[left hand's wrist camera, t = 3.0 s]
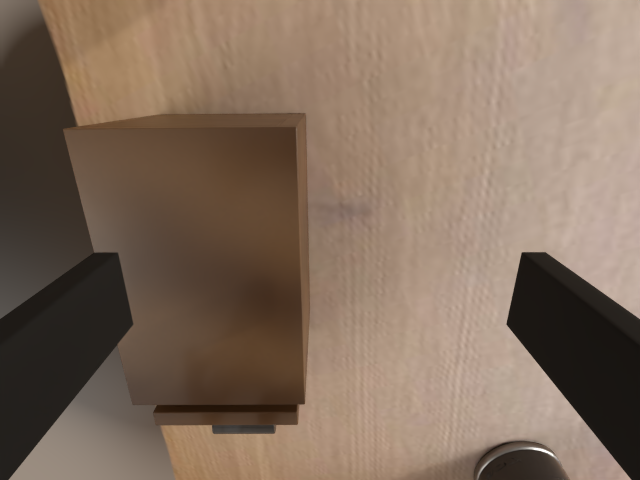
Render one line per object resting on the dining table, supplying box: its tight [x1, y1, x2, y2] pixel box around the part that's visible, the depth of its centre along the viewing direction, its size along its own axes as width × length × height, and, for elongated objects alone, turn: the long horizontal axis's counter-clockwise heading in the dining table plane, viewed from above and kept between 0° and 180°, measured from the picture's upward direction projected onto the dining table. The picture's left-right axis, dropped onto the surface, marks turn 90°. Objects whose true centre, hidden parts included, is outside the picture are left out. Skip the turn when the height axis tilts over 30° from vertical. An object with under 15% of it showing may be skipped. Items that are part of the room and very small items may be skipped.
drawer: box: [153, 404, 299, 434], centre depth 29 cm, size 22×10×10 cm, turn 1°
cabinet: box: [63, 113, 310, 405], centre depth 26 cm, size 17×11×12 cm, turn 1°
